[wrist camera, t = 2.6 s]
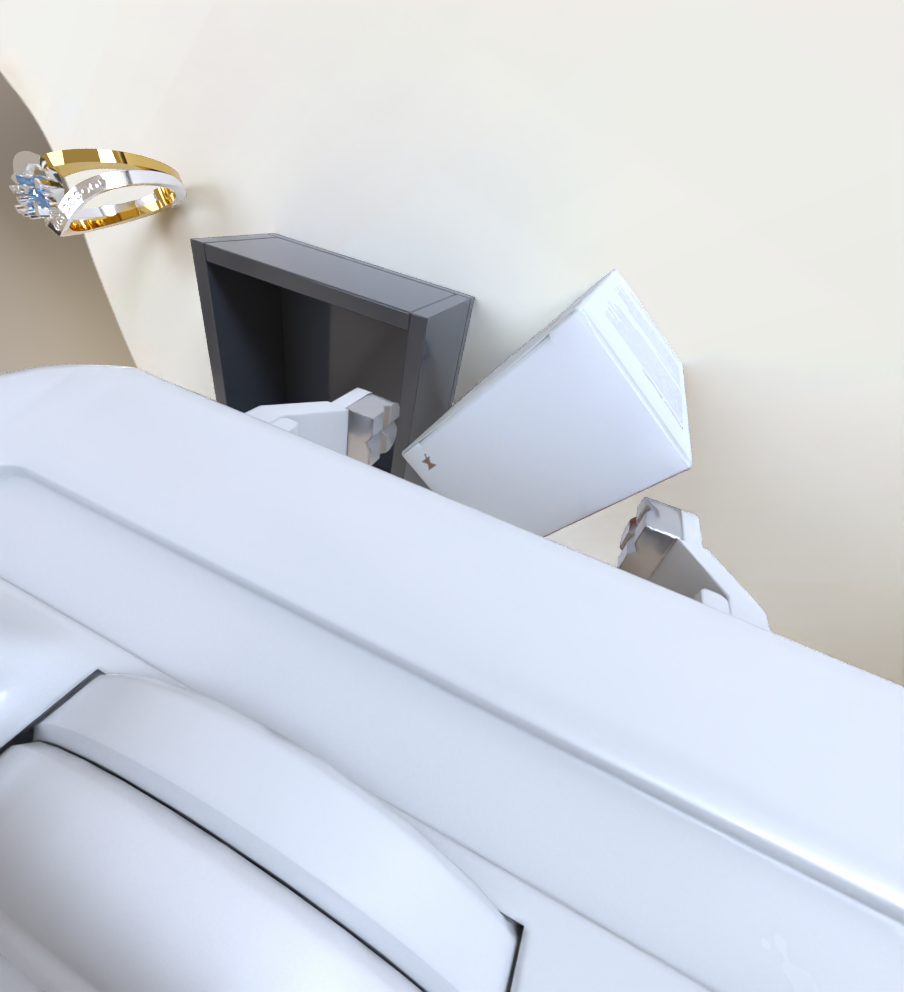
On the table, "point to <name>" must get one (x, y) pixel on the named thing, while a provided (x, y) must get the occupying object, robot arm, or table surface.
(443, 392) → the basin
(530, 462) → the small box
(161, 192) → the ring
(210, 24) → the table surface
